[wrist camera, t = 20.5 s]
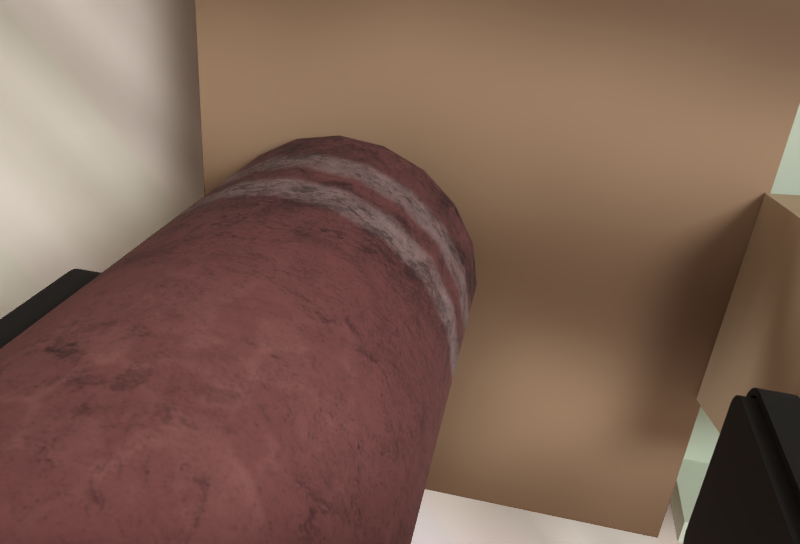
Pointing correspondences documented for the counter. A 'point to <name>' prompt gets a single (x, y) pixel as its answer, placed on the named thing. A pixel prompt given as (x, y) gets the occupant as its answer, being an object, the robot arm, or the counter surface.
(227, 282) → the can
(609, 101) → the board
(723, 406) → the tile
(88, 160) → the counter surface
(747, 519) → the robot arm
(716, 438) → the tray
